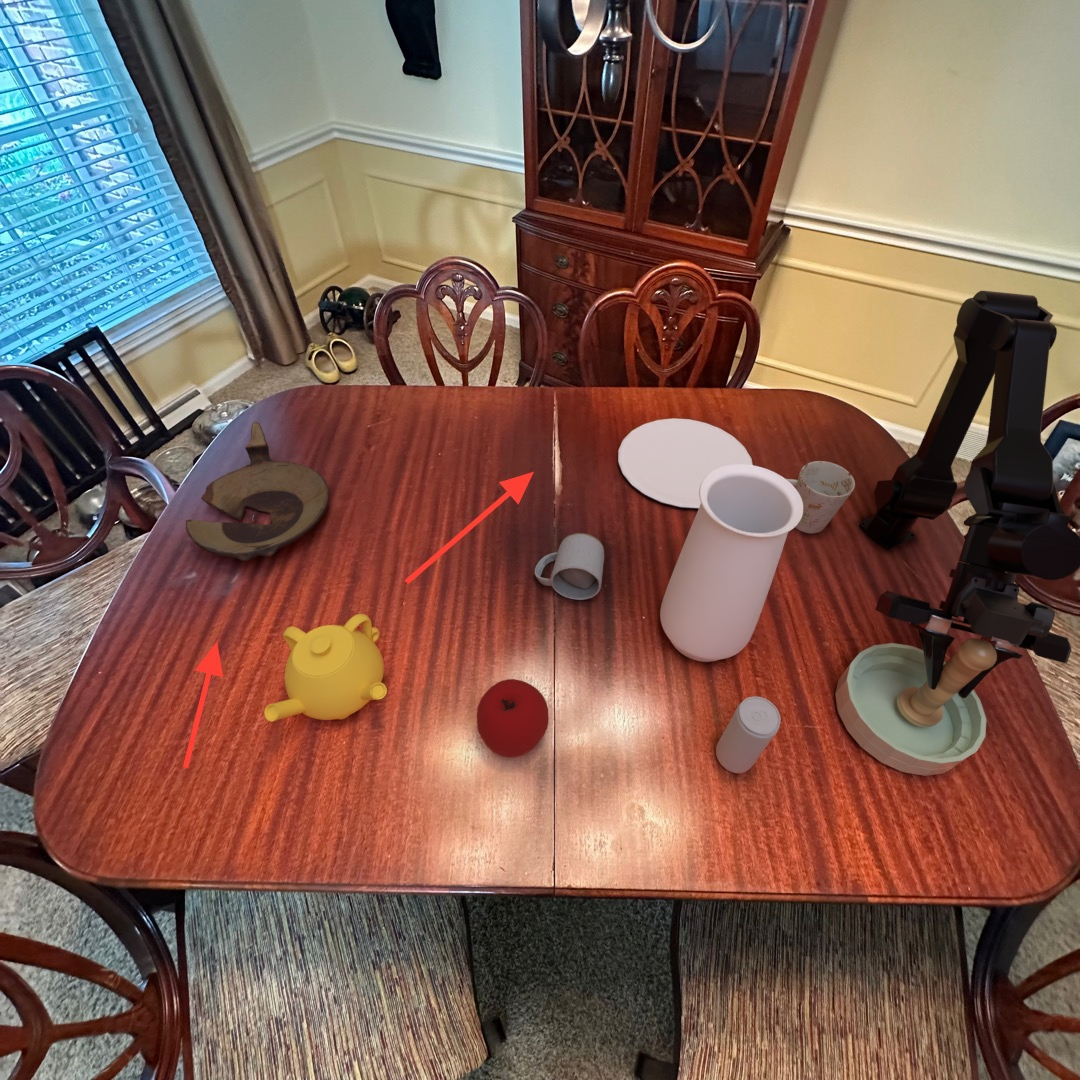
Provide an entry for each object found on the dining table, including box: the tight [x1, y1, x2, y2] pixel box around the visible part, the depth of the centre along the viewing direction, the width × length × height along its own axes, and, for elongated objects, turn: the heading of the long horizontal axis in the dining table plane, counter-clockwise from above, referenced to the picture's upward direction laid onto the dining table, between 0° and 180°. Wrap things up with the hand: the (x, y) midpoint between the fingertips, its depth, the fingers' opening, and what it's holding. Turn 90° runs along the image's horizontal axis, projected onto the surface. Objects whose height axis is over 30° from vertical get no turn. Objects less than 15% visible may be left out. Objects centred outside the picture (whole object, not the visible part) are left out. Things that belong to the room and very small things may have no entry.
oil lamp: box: [185, 421, 330, 562], centre depth 102 cm, size 22×30×8 cm
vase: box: [659, 464, 803, 663], centre depth 78 cm, size 13×13×28 cm
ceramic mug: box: [534, 532, 605, 601], centre depth 92 cm, size 11×8×8 cm
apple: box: [476, 678, 550, 758], centre depth 75 cm, size 9×9×10 cm
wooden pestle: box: [897, 637, 997, 727], centre depth 72 cm, size 5×5×16 cm
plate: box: [617, 418, 754, 510], centre depth 112 cm, size 25×25×1 cm
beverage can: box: [715, 695, 782, 774], centre depth 72 cm, size 5×5×12 cm
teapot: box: [263, 613, 388, 722], centre depth 78 cm, size 14×14×11 cm
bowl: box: [835, 642, 987, 777], centre depth 78 cm, size 16×16×5 cm
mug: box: [785, 460, 856, 534], centre depth 100 cm, size 8×13×10 cm, turn 78°
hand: (946, 692), depth 72 cm, fingers closed on wooden pestle, 3 cm apart
